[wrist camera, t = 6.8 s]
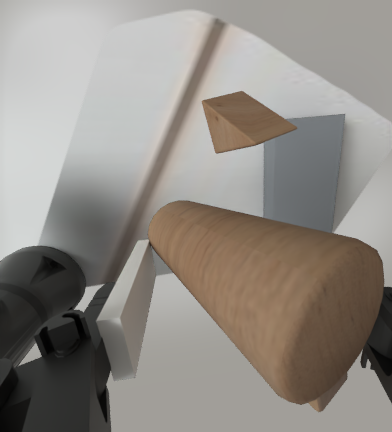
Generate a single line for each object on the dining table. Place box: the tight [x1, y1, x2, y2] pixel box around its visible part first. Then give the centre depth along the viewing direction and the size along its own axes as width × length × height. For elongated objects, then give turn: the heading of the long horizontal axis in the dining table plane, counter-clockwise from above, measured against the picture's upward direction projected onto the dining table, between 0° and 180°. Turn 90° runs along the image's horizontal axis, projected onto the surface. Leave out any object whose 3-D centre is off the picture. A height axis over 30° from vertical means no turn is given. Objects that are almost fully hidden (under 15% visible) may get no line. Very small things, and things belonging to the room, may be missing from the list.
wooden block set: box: [148, 91, 384, 412], centre depth 10 cm, size 18×9×10 cm, turn 18°
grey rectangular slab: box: [264, 114, 345, 233], centre depth 34 cm, size 11×20×4 cm, turn 5°
